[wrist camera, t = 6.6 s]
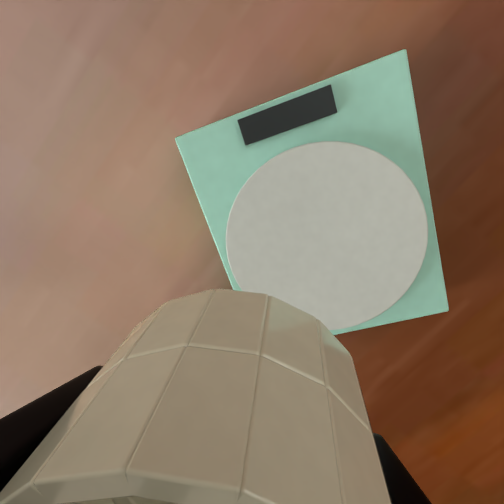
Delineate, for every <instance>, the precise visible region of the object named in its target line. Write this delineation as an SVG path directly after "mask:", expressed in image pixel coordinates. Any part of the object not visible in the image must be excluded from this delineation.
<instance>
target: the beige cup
mask: <svg viewBox="0 0 504 504" xmlns="http://www.w3.org/2000/svg"><path fill="white" fill-rule="evenodd" d="M0 504H392V500H391V497H390V493H389V489H388V486H387V482H386V479H385V475H384V471H383V467H382V464H381V460H380V456H379V452H378V449H377V445H376V441H375V438H374V434H373V430H372V427H371V423H370V419H369V416H368V412H367V408H366V405H365V401H364V397H363V393H362V390H361V387H360V383H359V380H358V376H357V373H356V369H355V366H354V362H353V359H352V357H351V356H350V353H349V352H348V351H347V350H346V349H345V347H344V346H343V345H342V344H341V343H340V342H339V341H338V340H337V339H336V337H335V336H334V335H333V334H332V333H331V332H330V331H329V330H328V329H327V328H326V326H325V325H324V324H323V323H322V322H321V321H320V320H319V319H316V318H315V317H314V316H312V315H310V314H308V313H306V312H304V311H302V310H300V309H298V308H296V307H294V306H292V305H290V304H288V303H286V302H284V301H282V300H280V299H278V298H275V297H273V296H268V294H264V293H255V292H245V291H236V290H227V289H215V290H214V289H211V290H207V291H203V292H200V293H196V294H192V295H188V296H184V297H181V298H177V299H173V300H169V301H168V302H166V303H164V304H162V305H161V306H160V307H159V308H158V309H156V310H155V311H154V312H153V313H152V314H150V315H149V316H148V317H147V318H145V319H144V320H143V321H142V322H141V323H139V324H138V325H137V326H136V327H135V328H134V329H133V330H132V332H131V333H130V334H129V335H128V337H127V338H126V339H125V340H124V342H123V343H122V344H121V345H120V346H119V348H118V349H117V350H116V351H115V353H114V354H113V355H112V356H111V358H110V359H109V360H108V361H107V362H106V364H105V365H104V366H103V367H102V369H101V370H100V371H99V372H98V373H97V375H96V376H95V377H94V378H93V380H92V381H91V382H90V383H89V385H88V386H87V387H86V389H85V390H84V391H83V392H82V393H81V394H80V395H79V396H78V398H77V399H76V400H75V401H74V403H73V404H72V405H71V406H70V408H69V409H68V410H67V411H66V412H65V414H64V415H63V416H62V417H61V419H60V420H59V421H58V422H57V423H56V425H55V426H54V427H53V428H52V430H51V431H50V432H49V433H48V435H47V436H46V437H45V438H44V439H43V441H42V442H41V443H40V444H39V446H38V447H37V448H36V449H35V450H34V452H33V453H32V454H31V455H30V457H29V458H28V459H27V460H26V462H25V463H24V464H23V465H22V466H21V468H20V469H19V470H18V471H17V473H16V474H15V475H14V476H13V477H12V479H11V480H10V481H9V482H8V484H7V485H6V486H5V487H4V489H3V490H2V491H1V492H0Z"/></svg>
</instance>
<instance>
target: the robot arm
mask: <svg viewBox="0 0 504 504" xmlns="http://www.w3.org/2000/svg"><path fill="white" fill-rule="evenodd" d="M102 367H103V366H96V367H94V368H92V369H91V370H89V371H87V372H85V373H83V374H82V375H80V376H78V377H76V378H74V379H72V380H71V381H69V382H67V383H65V384H63V385H62V386H60V387H58V388H56V389H54V390H53V391H51V392H49V393H47V394H45V395H43V396H42V397H40V398H38V399H36V400H34V401H33V402H31V403H29V404H27V405H25V406H23V407H22V408H20V409H18V410H16V411H14V412H13V413H11V414H9V415H7V416H5V417H3V418H2V419H0V492H1V491H2V490H3V489H4V487H5V486H6V485H7V484H8V482H9V481H10V480H11V479H12V477H13V476H14V475H15V474H16V473H17V471H18V470H19V469H20V468H21V466H22V465H23V464H24V463H25V462H26V460H27V459H28V458H29V457H30V455H31V454H32V453H33V452H34V450H35V449H36V448H37V447H38V446H39V444H40V443H41V442H42V441H43V439H44V438H45V437H46V436H47V435H48V433H49V432H50V431H51V430H52V428H53V427H54V426H55V425H56V423H57V422H58V421H59V420H60V419H61V417H62V416H63V415H64V414H65V412H66V411H67V410H68V409H69V408H70V406H71V405H72V404H73V403H74V401H75V400H76V399H77V398H78V396H79V395H80V394H81V393H82V392H83V391H84V390H85V389H86V387H87V386H88V385H89V383H90V382H91V381H92V380H93V378H94V377H95V376H96V375H97V373H98V372H99V371H100V370H101V369H102ZM373 434H374V438H375V441H376V445H377V449H378V452H379V456H380V460H381V464H382V467H383V471H384V475H385V479H386V482H387V486H388V489H389V493H390V497H391V500H392V504H432V503H431V502H430V501H429V499H428V498H427V497H426V495H425V494H424V493H423V491H422V490H421V489H420V487H419V486H418V484H417V483H416V482H415V480H414V479H413V478H412V476H411V475H410V474H409V472H408V471H407V470H406V468H405V467H404V465H403V464H402V463H401V461H400V460H399V459H398V457H397V456H396V455H395V453H394V452H393V451H392V449H391V448H390V446H389V445H388V444H387V442H386V441H385V440H384V438H383V437H382V436H381V435H379V434H376V433H373Z"/></svg>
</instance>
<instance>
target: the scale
mask: <svg viewBox="0 0 504 504" xmlns="http://www.w3.org/2000/svg"><path fill="white" fill-rule="evenodd" d="M175 141H176V143H177V146H178V148H179V151H180V153H181V156H182V159H183V161H184V164H185V166H186V169H187V172H188V174H189V177H190V179H191V182H192V185H193V187H194V190H195V192H196V195H197V197H198V200H199V203H200V205H201V208H202V210H203V213H204V216H205V218H206V221H207V223H208V226H209V228H210V231H211V234H212V236H213V239H214V241H215V244H216V247H217V249H218V252H219V254H220V257H221V259H222V262H223V265H224V267H225V270H226V272H227V275H228V278H229V280H230V283H231V285H232V288H233V290H236V291H245V292H255V293H264V294H268V296H273V297H275V298H278V299H280V300H282V301H284V302H286V303H288V304H290V305H292V306H294V307H296V308H298V309H300V310H302V311H304V312H306V313H308V314H310V315H312V316H314V317H315V318H316V319H319V320H320V321H321V322H322V323H323V324H324V325H325V326H326V328H327V329H328V330H329V331H330V332H331V333H332V334H333V335H336V334H341V333H346V332H351V331H355V330H360V329H365V328H370V327H374V326H379V325H384V324H389V323H394V322H398V321H403V320H408V319H413V318H417V317H422V316H427V315H432V314H437V313H441V312H446V311H449V307H448V301H447V295H446V289H445V283H444V277H443V271H442V265H441V259H440V253H439V247H438V240H437V234H436V228H435V222H434V216H433V210H432V204H431V198H430V192H429V186H428V180H427V173H426V167H425V161H424V155H423V149H422V143H421V137H420V131H419V125H418V119H417V113H416V106H415V100H414V94H413V88H412V82H411V76H410V70H409V64H408V58H407V52H406V49H403V50H400V51H398V52H395V53H393V54H390V55H387V56H385V57H382V58H380V59H377V60H374V61H372V62H369V63H367V64H364V65H361V66H359V67H356V68H354V69H351V70H349V71H346V72H343V73H341V74H338V75H336V76H333V77H330V78H328V79H325V80H323V81H320V82H318V83H315V84H312V85H310V86H307V87H305V88H302V89H299V90H297V91H294V92H292V93H289V94H287V95H284V96H281V97H279V98H276V99H274V100H271V101H268V102H266V103H263V104H261V105H258V106H256V107H253V108H250V109H248V110H245V111H243V112H240V113H237V114H235V115H232V116H230V117H227V118H225V119H222V120H219V121H217V122H214V123H212V124H209V125H206V126H204V127H201V128H199V129H196V130H194V131H191V132H188V133H186V134H183V135H181V136H178V137H176V138H175Z"/></svg>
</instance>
